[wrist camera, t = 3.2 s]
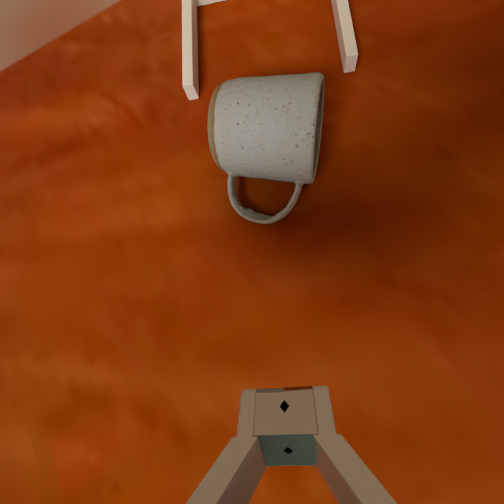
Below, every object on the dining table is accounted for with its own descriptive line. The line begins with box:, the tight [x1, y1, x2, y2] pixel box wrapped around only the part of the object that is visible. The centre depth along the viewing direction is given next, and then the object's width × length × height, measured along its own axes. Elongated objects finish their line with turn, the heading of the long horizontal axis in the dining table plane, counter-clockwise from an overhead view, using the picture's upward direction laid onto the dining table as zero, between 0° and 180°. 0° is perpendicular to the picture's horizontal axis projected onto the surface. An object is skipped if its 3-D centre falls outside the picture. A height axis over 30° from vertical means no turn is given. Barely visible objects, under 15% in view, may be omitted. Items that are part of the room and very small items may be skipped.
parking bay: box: [182, 0, 358, 100], centre depth 30 cm, size 16×13×2 cm
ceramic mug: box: [207, 72, 324, 224], centre depth 24 cm, size 11×8×8 cm
